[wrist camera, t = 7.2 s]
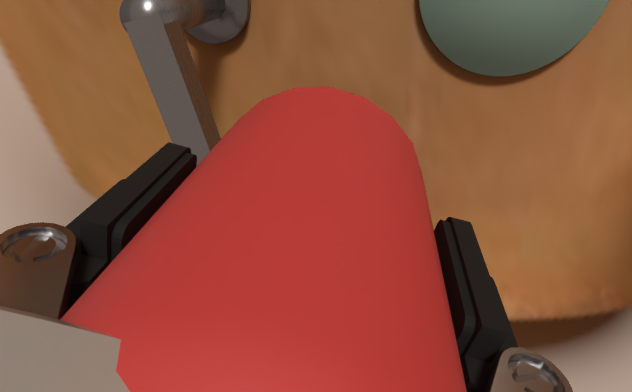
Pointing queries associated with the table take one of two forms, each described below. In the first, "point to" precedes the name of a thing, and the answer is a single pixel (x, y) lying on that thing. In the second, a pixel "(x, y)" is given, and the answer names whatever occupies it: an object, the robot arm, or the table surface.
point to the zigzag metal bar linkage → (181, 59)
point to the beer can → (286, 264)
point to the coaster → (507, 31)
